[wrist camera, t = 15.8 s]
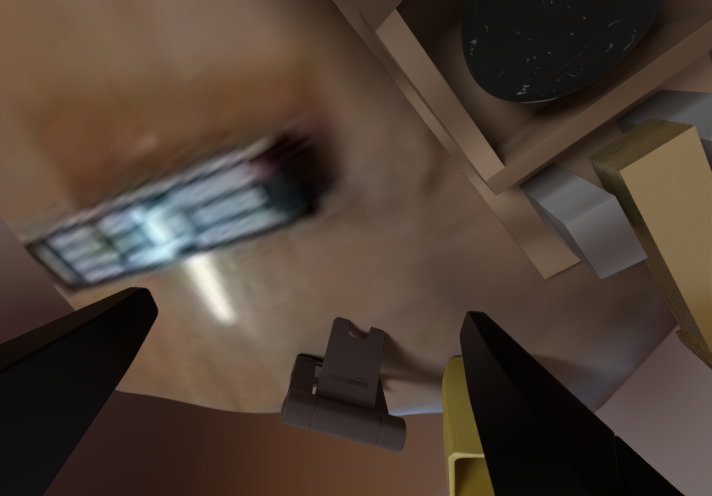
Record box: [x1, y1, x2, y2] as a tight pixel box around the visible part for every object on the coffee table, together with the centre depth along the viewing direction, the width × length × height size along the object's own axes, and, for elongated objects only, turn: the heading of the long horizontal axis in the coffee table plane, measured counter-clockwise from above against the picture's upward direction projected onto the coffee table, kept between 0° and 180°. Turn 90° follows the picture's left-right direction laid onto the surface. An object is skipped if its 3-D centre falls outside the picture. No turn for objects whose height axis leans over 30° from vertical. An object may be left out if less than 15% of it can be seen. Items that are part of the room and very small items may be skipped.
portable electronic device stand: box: [280, 317, 406, 452], centre depth 24 cm, size 9×8×8 cm
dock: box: [332, 0, 712, 280], centre depth 12 cm, size 21×11×6 cm, turn 44°
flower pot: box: [442, 356, 495, 496], centre depth 24 cm, size 9×9×9 cm
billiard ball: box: [461, 0, 664, 103], centre depth 10 cm, size 6×6×6 cm
